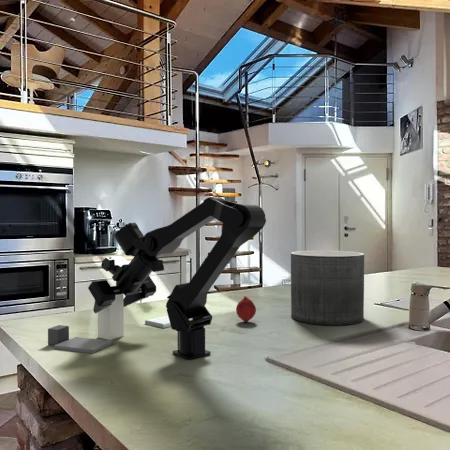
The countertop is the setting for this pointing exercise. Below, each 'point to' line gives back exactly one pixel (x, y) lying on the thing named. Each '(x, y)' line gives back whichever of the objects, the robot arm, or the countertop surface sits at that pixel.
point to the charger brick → (112, 320)
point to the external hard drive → (160, 322)
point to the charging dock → (74, 341)
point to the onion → (246, 309)
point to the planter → (327, 287)
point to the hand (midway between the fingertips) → (108, 308)
